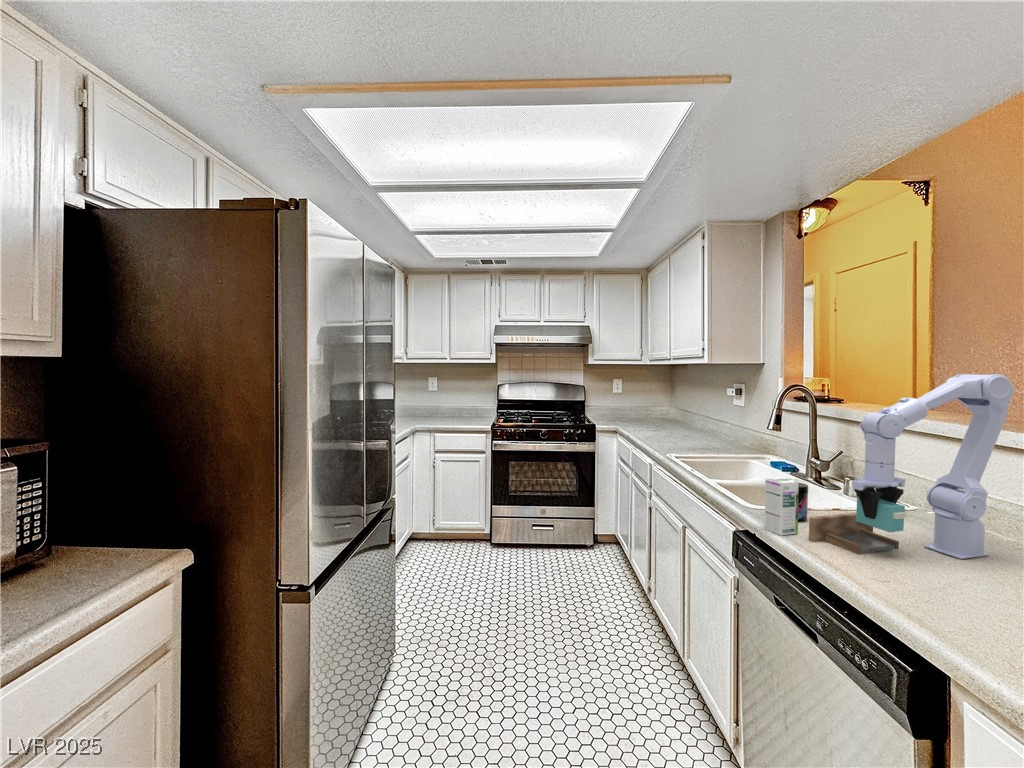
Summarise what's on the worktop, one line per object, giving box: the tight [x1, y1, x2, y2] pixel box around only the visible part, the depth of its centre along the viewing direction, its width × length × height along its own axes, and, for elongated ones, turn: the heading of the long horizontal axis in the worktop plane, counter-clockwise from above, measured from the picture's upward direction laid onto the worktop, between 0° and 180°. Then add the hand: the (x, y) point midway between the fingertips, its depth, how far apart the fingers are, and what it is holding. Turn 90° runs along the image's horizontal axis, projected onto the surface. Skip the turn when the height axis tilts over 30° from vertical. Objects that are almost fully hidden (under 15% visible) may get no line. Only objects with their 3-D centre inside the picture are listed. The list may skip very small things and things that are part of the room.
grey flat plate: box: [835, 533, 895, 554], centre depth 118 cm, size 11×9×1 cm
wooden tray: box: [808, 512, 900, 555], centre depth 118 cm, size 20×10×6 cm, turn 105°
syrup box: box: [764, 477, 799, 537], centre depth 127 cm, size 6×6×14 cm
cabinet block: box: [855, 496, 907, 533], centre depth 113 cm, size 4×9×6 cm, turn 16°
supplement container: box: [798, 481, 809, 523], centre depth 138 cm, size 7×7×10 cm
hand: (877, 517), depth 114 cm, fingers closed on cabinet block, 4 cm apart
